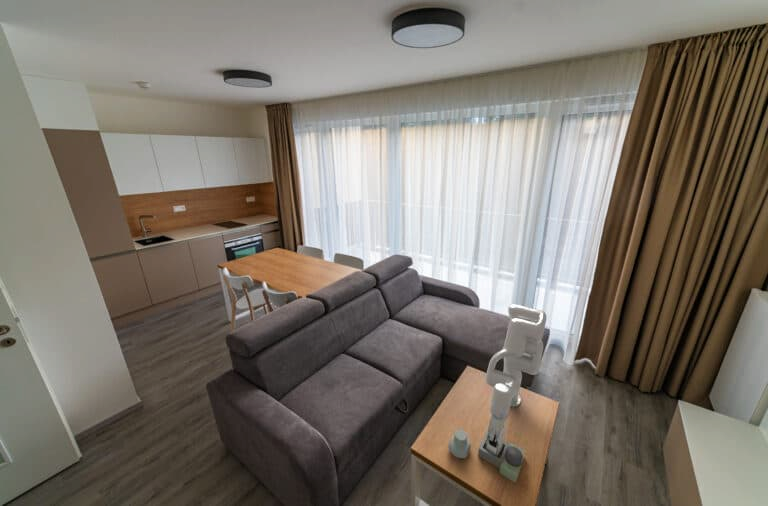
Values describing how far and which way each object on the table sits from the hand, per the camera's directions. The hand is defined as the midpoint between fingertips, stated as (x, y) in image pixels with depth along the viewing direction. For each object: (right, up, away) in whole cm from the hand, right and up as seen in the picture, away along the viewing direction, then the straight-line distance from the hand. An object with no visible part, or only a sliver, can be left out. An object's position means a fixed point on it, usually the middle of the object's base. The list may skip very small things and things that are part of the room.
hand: (495, 439), depth 132 cm
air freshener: (-15, -8, +5) cm, 18 cm away
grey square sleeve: (+3, -9, +1) cm, 9 cm away
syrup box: (0, -6, +2) cm, 6 cm away
